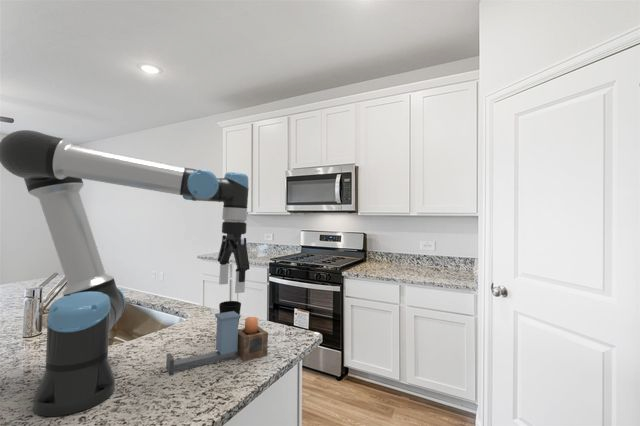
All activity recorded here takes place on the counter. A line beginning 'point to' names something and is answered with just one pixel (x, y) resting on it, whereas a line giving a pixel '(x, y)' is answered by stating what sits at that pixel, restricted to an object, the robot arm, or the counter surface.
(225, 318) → the carriage
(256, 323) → the button
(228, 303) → the cup
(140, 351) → the counter surface
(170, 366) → the rail
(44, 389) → the robot arm
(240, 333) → the brown wooden box
